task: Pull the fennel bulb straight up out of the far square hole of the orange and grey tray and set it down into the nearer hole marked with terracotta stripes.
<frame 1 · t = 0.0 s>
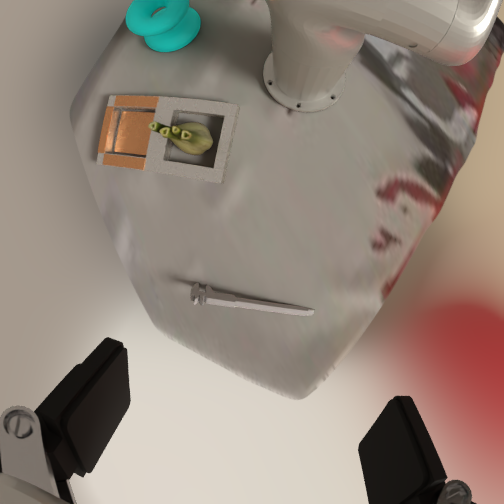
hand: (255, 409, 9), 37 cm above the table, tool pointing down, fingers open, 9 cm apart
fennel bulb: (197, 139, 42), resting in orange and grey tray
orange and grey tray: (165, 135, 41), on the table
caliper: (255, 298, 48), on the table
donuts: (174, 31, 36), on the table
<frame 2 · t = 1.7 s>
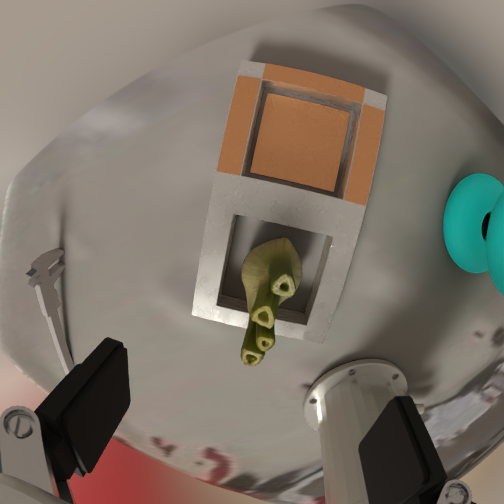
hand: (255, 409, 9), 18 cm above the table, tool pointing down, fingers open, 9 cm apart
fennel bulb: (273, 263, 26), resting in orange and grey tray
orange and grey tray: (287, 203, 24), on the table
caliper: (67, 321, 30), on the table
donuts: (472, 221, 23), on the table
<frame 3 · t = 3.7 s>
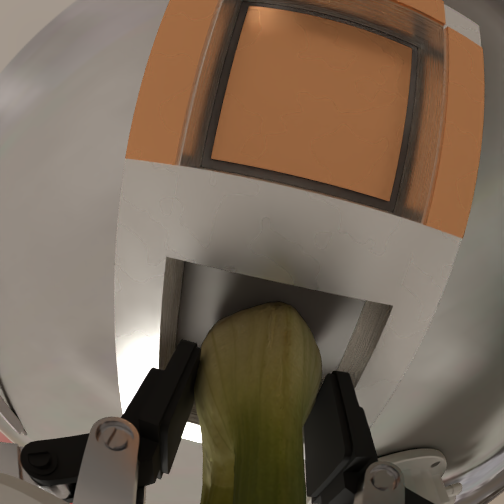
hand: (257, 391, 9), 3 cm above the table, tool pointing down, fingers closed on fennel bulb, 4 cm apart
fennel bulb: (262, 339, 13), resting in orange and grey tray, touching gripper
orange and grey tray: (292, 224, 11), on the table
caliper: (0, 373, 18), on the table
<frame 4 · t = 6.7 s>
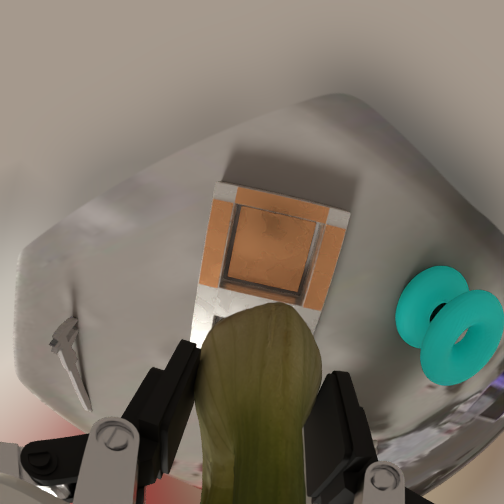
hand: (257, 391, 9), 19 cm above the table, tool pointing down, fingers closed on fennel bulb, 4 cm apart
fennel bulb: (262, 339, 13), point 16 cm above the table, touching gripper
orange and grey tray: (258, 300, 29), on the table
caliper: (83, 368, 36), on the table
donuts: (428, 302, 28), on the table
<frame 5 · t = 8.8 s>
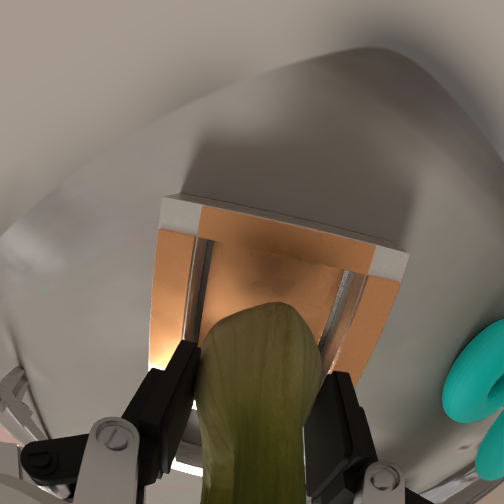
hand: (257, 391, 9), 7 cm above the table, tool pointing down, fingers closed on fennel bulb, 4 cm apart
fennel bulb: (262, 339, 13), point 4 cm above the table, touching gripper
orange and grey tray: (247, 379, 18), on the table
caliper: (43, 419, 24), on the table
donuts: (482, 363, 17), on the table
when the fingers open (5 cm above the table, at t = 9.7 s): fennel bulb drops 1 cm, resting on orange and grey tray.
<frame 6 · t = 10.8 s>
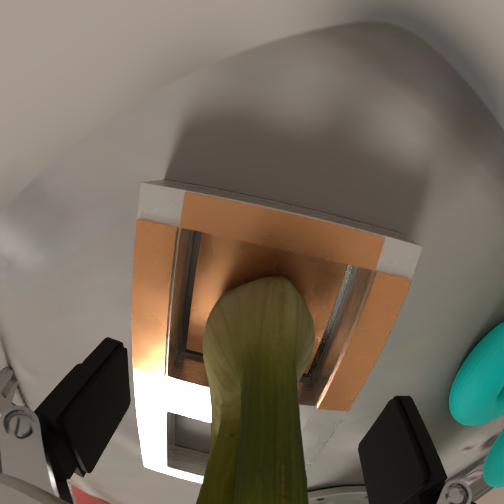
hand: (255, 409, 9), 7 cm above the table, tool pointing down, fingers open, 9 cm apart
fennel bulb: (262, 312, 15), resting on orange and grey tray
orange and grey tray: (241, 383, 16), on the table
caliper: (35, 420, 23), on the table
donuts: (490, 363, 15), on the table
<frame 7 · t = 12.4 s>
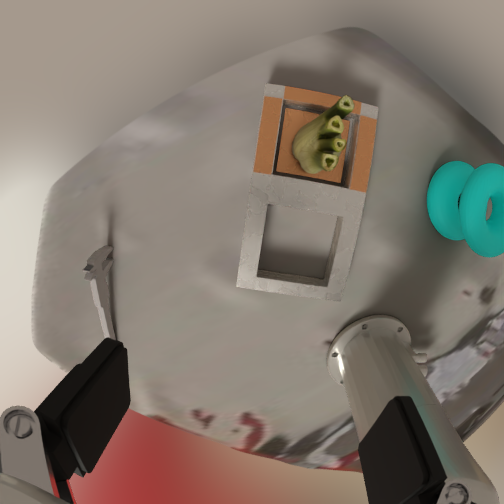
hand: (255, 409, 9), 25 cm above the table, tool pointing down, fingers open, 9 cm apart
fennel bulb: (314, 147, 29), resting on orange and grey tray
orange and grey tray: (305, 193, 31), on the table
caliper: (114, 311, 37), on the table
donuts: (451, 199, 30), on the table
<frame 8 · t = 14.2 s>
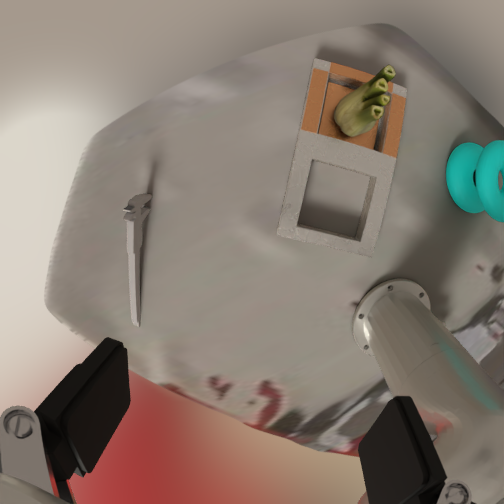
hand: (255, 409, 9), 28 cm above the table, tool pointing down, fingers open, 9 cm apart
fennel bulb: (351, 117, 31), resting on orange and grey tray
orange and grey tray: (343, 156, 32), on the table
caliper: (142, 264, 39), on the table
donuts: (466, 177, 31), on the table
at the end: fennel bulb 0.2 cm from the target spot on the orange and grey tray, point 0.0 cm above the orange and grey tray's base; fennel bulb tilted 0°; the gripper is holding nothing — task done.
